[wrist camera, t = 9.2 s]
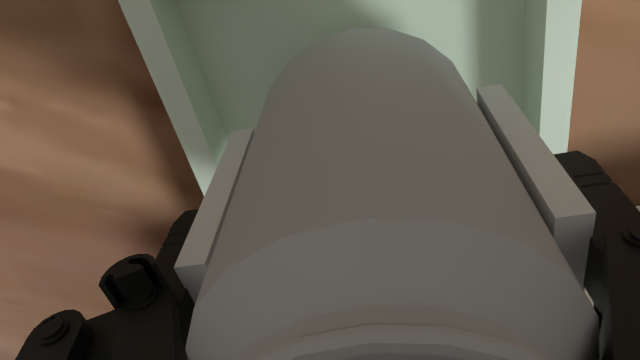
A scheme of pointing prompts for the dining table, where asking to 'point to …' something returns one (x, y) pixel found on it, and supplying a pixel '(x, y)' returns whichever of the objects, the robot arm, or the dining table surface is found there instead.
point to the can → (384, 224)
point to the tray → (331, 18)
